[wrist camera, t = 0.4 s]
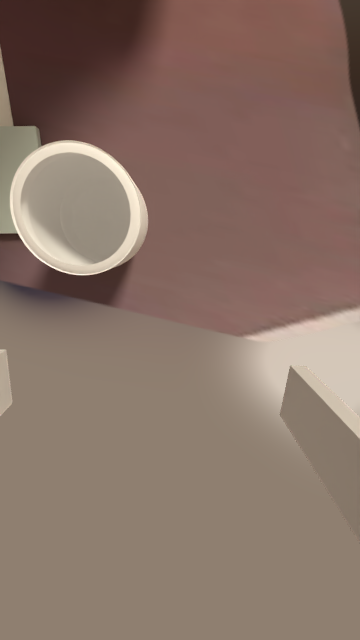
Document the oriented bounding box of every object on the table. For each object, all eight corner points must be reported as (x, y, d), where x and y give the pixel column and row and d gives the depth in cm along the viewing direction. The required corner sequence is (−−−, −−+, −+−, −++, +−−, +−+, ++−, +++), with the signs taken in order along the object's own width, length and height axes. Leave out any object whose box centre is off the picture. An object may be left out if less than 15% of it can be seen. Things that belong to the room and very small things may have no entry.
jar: (70, 255, 37) (7, 264, 23) (76, 173, 35) (9, 124, 20) (146, 269, 38) (133, 285, 24) (158, 190, 35) (150, 155, 21)
